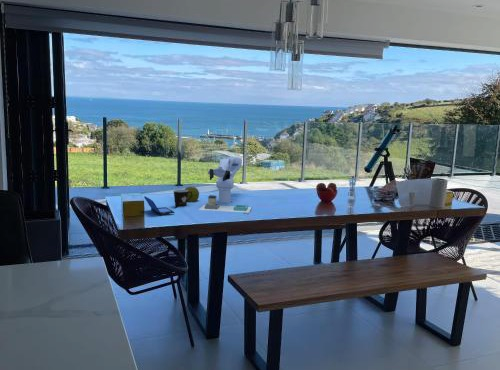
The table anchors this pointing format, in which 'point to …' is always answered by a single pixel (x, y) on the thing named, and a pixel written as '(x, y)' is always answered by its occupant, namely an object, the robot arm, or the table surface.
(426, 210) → the table surface
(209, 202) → the plug
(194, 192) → the apple
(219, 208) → the panel
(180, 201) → the coffee mug
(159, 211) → the handheld game console
